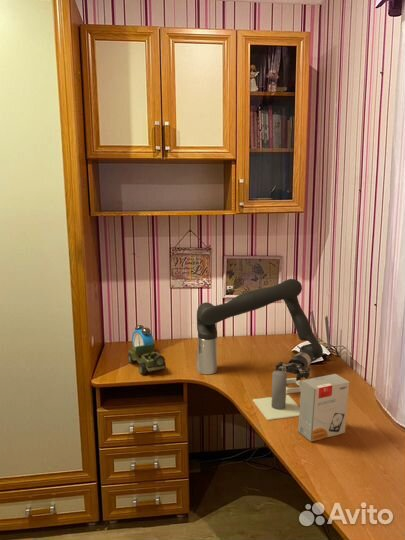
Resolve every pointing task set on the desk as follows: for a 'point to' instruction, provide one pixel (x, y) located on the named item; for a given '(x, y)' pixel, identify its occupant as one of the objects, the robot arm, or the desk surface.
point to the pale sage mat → (272, 413)
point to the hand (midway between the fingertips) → (287, 376)
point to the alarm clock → (142, 336)
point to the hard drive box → (323, 407)
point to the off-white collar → (293, 389)
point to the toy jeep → (146, 358)
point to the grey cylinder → (279, 390)
